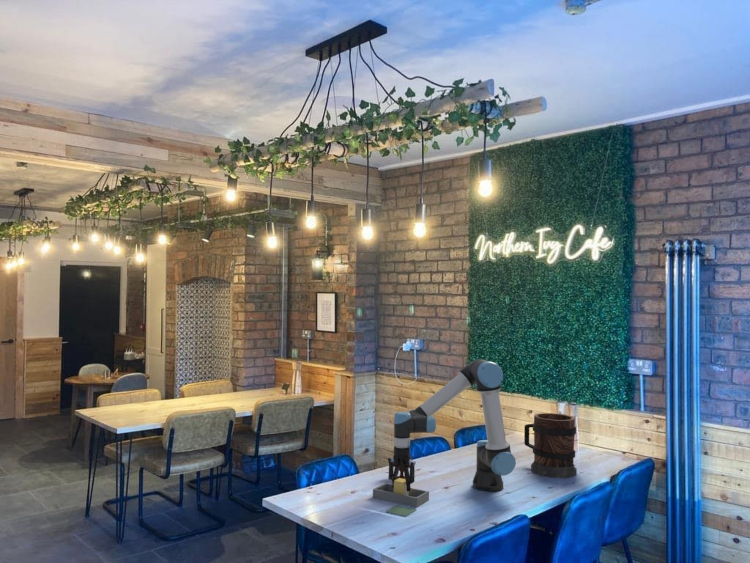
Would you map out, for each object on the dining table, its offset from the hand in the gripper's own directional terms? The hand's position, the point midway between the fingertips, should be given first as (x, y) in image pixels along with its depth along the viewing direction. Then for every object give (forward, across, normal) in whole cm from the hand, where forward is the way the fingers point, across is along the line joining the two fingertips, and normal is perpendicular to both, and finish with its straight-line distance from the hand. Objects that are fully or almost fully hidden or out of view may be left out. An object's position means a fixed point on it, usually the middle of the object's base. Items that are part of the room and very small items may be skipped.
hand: (401, 496), depth 285 cm
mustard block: (0, 0, 0) cm, 0 cm away
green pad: (+2, -8, +14) cm, 16 cm away
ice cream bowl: (+2, +16, -30) cm, 34 cm away
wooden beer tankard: (+3, -43, -91) cm, 100 cm away
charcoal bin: (+2, 0, 0) cm, 2 cm away
